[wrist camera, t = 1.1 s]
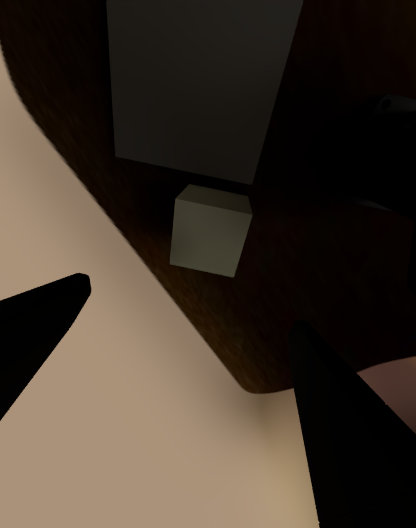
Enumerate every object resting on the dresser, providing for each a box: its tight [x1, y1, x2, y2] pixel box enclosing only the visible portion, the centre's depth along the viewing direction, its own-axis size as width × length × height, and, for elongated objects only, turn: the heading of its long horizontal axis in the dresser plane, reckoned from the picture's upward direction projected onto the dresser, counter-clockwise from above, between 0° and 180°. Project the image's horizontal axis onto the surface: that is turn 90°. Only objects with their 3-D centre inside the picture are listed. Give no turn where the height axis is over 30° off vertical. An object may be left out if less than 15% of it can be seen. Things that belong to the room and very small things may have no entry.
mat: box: [106, 0, 303, 185], centre depth 14 cm, size 11×11×1 cm
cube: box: [170, 184, 252, 277], centre depth 16 cm, size 5×5×5 cm
